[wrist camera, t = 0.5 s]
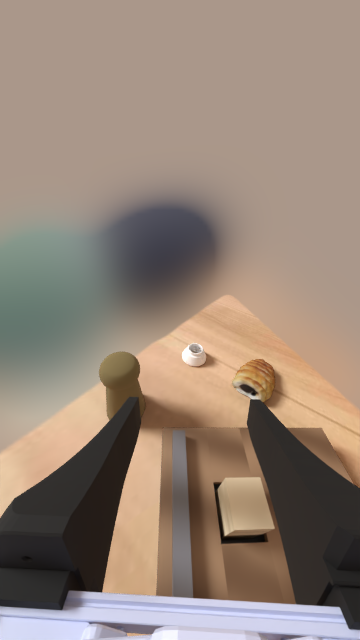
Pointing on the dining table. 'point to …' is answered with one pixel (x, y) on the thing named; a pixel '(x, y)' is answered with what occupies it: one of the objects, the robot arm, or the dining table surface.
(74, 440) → the dining table surface
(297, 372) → the dining table surface
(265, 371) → the pastry
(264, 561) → the lid
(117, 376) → the olive pawn figure
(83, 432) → the dining table surface
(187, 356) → the white upturned bowl
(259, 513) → the block
